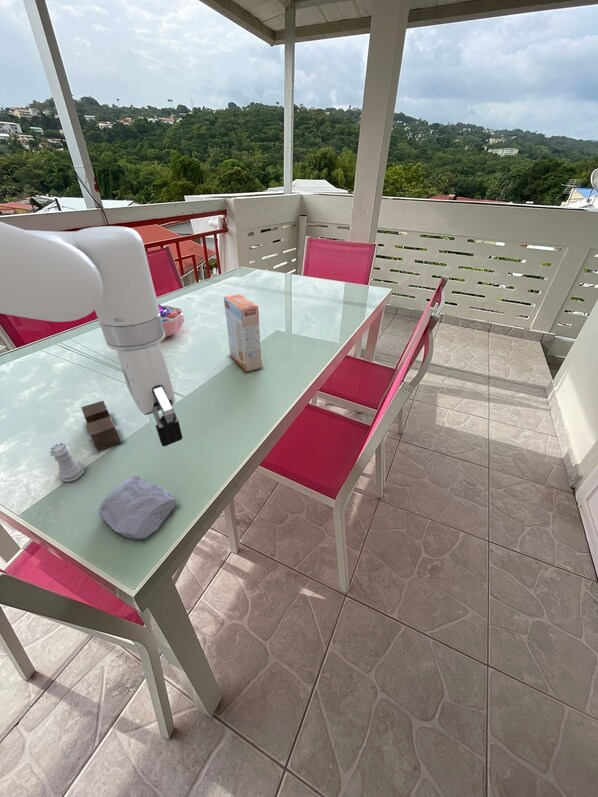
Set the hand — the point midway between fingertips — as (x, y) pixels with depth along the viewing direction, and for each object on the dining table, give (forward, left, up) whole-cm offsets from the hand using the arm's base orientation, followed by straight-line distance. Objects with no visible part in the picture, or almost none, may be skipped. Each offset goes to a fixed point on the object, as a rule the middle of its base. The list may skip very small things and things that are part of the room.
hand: (162, 425), depth 55 cm
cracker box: (+37, +42, -18) cm, 59 cm away
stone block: (-8, +2, -18) cm, 20 cm away
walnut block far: (-9, +34, -18) cm, 40 cm away
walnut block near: (-9, +26, -18) cm, 33 cm away
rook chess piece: (-17, +19, -18) cm, 32 cm away
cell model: (+22, +81, -18) cm, 86 cm away
